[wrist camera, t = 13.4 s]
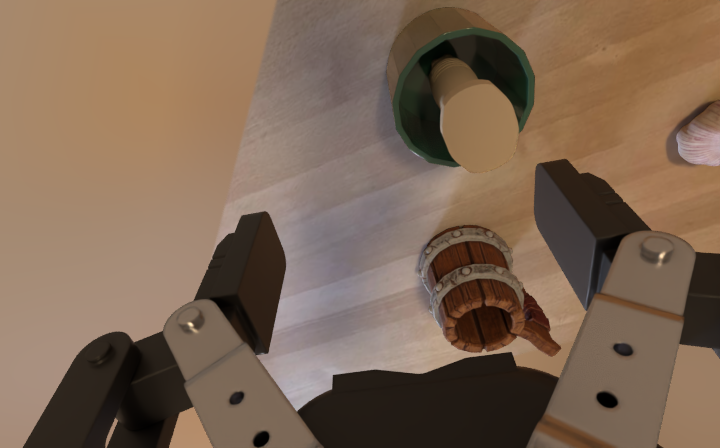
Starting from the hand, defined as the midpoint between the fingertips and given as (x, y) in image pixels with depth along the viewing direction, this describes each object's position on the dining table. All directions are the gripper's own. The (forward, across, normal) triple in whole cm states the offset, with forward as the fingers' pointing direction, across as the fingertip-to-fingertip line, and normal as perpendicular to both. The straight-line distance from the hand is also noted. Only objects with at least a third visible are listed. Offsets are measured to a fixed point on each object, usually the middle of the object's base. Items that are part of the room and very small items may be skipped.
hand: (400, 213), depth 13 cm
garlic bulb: (+32, -33, +17) cm, 49 cm away
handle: (+32, -6, +6) cm, 33 cm away
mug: (+32, -8, +31) cm, 45 cm away
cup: (+32, -6, +6) cm, 33 cm away
